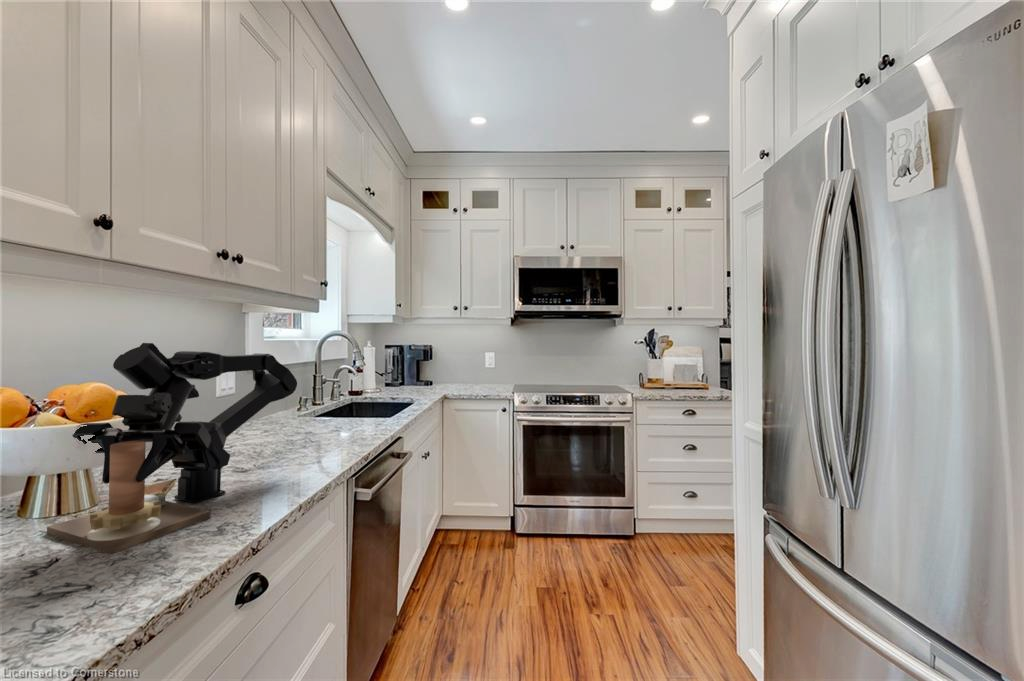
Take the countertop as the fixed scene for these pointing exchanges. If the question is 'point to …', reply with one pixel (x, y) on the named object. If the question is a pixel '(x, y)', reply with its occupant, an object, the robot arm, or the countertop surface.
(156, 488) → the shard
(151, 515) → the gear spindle
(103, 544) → the gear board
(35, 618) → the countertop surface
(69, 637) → the countertop surface
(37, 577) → the countertop surface
